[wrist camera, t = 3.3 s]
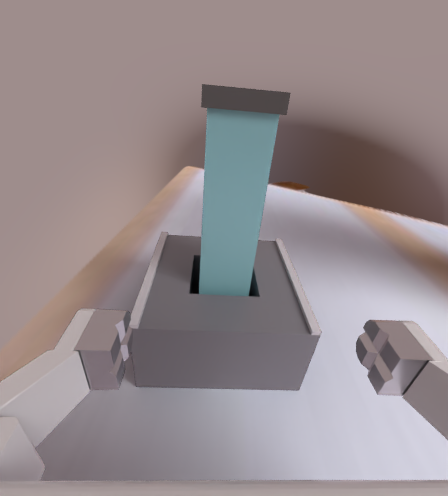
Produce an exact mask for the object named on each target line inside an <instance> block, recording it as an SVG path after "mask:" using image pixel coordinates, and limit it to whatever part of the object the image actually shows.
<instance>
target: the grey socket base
mask: <svg viewBox="0 0 448 496" xmlns="http://www.w3.org/2000/svg"><path fill="white" fill-rule="evenodd" d="M200 259H201V237H194V236H177V235H168V232H161V235H160V238H159V240H158V243H157V246H156V248H155V251H154V254H153V257H152V259H151V262H150V265H149V267H148V270H147V273H146V275H145V278H144V281H143V284H142V286H141V289H140V292H139V294H138V297H137V300H136V303H135V305H134V308H133V311H132V313H131V321H130V323H129V326H130V327H131V328H132V330H133V343H132V349H131V354H132V361H133V368H134V375H135V382H136V387H172V388H217V389H261V390H299V389H300V387H301V384H302V382H303V379H304V376H305V374H306V371H307V369H308V366H309V363H310V361H311V358H312V356H313V353H314V351H315V348H316V345H317V343H318V340H319V338H320V335H321V333H322V331H321V329H320V327H319V325H318V322H317V320H316V318H315V315H314V313H313V311H312V308H311V306H310V304H309V301H308V299H307V297H306V295H305V292H304V290H303V288H302V285H301V283H300V281H299V278H298V276H297V274H296V271H295V269H294V267H293V265H292V262H291V260H290V258H289V255H288V253H287V251H286V248H285V246H284V244H283V241H282V239H276V240H275V241H261V240H258V243H257V249H256V255H255V261H254V267H253V273H252V279H251V285H250V290H249V296H229V295H207V294H199V280H200Z"/></svg>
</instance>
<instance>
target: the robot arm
mask: <svg viewBox="0 0 448 496" xmlns="http://www.w3.org/2000/svg"><path fill="white" fill-rule="evenodd" d="M130 321H131V316H130V312H129V311H123V310H107V309H86V308H81V309H80V310H78V311H77V312H76V314H75V316H74V317H73V319H72V321H71V322H70V324H69V325H68V327H67V329H66V330H65V332H64V333H63V335H62V337H61V338H60V340H59V342H58V343H57V345H56V346H55V348H54V350H47V351H46V352H44V353H43V354H41V355H40V356H38V357H37V358H35V359H34V360H32V361H31V362H29V363H28V364H26V365H25V366H23V367H22V368H20V369H19V370H17V371H16V372H14V373H13V374H11V375H10V376H8V377H7V378H5V379H4V380H2V381H1V382H0V496H448V480H155V481H40V480H41V478H42V475H43V473H44V471H45V469H46V468H45V465H44V463H43V461H42V459H41V458H40V456H39V454H38V453H37V451H36V449H35V448H36V447H37V446H38V445H39V444H40V443H41V442H42V441H43V440H44V439H45V438H46V437H47V436H48V435H49V434H50V433H51V432H52V431H53V430H54V429H55V427H56V426H57V425H58V424H59V423H60V422H61V421H62V420H63V419H64V418H65V417H66V416H67V415H68V414H69V413H70V412H71V411H72V410H73V409H74V408H75V407H76V406H77V405H78V404H79V403H80V402H81V401H82V400H83V399H84V398H85V397H86V395H87V394H88V393H89V392H90V390H119V387H120V384H121V381H122V378H123V375H124V372H125V366H124V361H126V360H127V359H128V358H129V356H130V353H131V349H132V343H133V330H132V328H131V327H130V326H129V323H130ZM363 328H364V330H365V333H363V334H362V335H360V336H359V338H358V340H357V342H356V352H357V356H358V359H359V361H360V363H361V364H362V365H363V366H364V367H366V368H367V369H368V370H369V371H368V378H369V380H370V382H371V383H372V385H373V387H374V389H375V391H376V393H377V395H393V396H403V398H404V399H405V400H406V401H407V402H408V403H409V404H410V405H411V406H412V407H413V408H414V409H415V410H416V411H417V412H419V413H420V414H421V415H422V416H423V417H424V418H425V419H426V420H427V421H428V422H429V423H430V424H431V425H432V426H433V427H434V428H435V429H437V430H438V431H439V432H440V433H441V434H442V435H443V436H444V437H445V438H446V439H447V440H448V359H447V358H446V357H445V355H444V354H443V353H442V352H441V351H440V350H439V348H438V347H437V346H436V345H435V344H434V343H433V341H432V340H431V339H430V338H429V337H428V336H427V334H426V333H425V332H424V331H423V330H422V329H421V327H420V326H419V325H418V324H417V323H415V322H413V321H393V320H369V321H367V322H366V323H365V325H364V327H363Z"/></svg>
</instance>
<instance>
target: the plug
mask: <svg viewBox="0 0 448 496" xmlns="http://www.w3.org/2000/svg"><path fill="white" fill-rule="evenodd" d="M289 98H290V93H286V92H276V91H266V90H256V89H246V88H235V87H225V86H215V85H205V84H202V105H201V107H204V108H207V128H206V129H207V130H206V151H205V172H204V193H203V215H202V237H201V259H200V280H199V294H207V295H229V296H249V290H250V285H251V279H252V273H253V267H254V261H255V255H256V249H257V243H258V238H259V232H260V226H261V220H262V214H263V208H264V202H265V196H266V191H267V185H268V179H269V173H270V167H271V161H272V155H273V149H274V143H275V138H276V132H277V126H278V119H279V114H281V115H286V114H287V109H288V104H289Z"/></svg>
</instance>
